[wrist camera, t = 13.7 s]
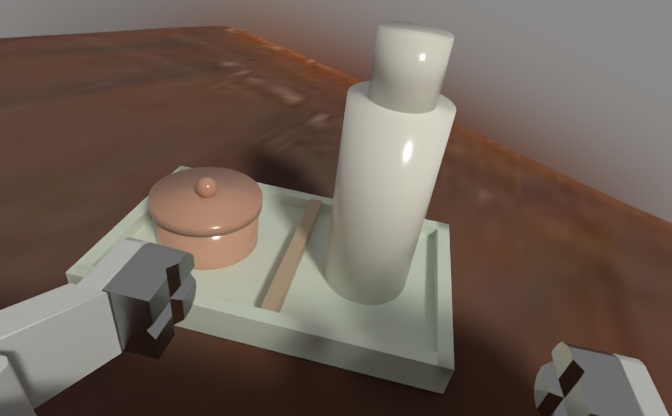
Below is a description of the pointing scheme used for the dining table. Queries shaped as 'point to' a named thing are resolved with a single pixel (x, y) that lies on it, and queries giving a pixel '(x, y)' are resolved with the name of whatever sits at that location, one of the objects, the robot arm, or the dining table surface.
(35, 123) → the dining table surface
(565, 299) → the dining table surface
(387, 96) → the bottle
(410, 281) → the tray
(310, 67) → the dining table surface
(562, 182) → the dining table surface
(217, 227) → the sugar pot
